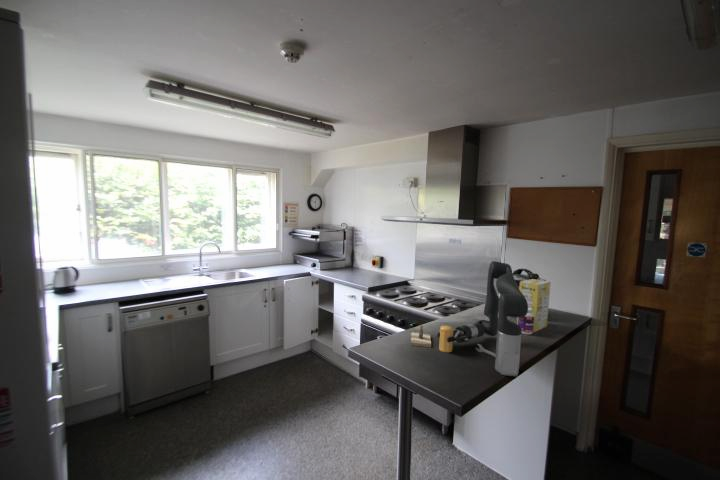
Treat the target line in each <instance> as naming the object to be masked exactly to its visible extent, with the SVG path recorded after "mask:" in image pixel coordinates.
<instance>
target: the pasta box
mask: <svg viewBox="0 0 720 480" xmlns="http://www.w3.org/2000/svg"><path fill="white" fill-rule="evenodd" d="M519 290H520V291H521V293H522V294H523V295H524V297H525V298H526V300H527V304H528V308H531V309H532V313H533V314H534V326H533V333H537V332H538V331H540V330H542V329H544V328H547V327H548V317H549V316H548V315H549V305H550V293H551V292H550V291H551V281H547V280H546V281H542V280H536V279H530V280H525V281H521V282H520V286H519ZM516 324H518V317H516Z"/></svg>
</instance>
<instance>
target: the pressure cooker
mask: <svg viewBox="0 0 720 480" xmlns="http://www.w3.org/2000/svg"><path fill="white" fill-rule="evenodd" d="M522 272H525V273H526V274H522ZM512 273H513V277H514V279H515V281H516V283H517V285H518V288H519V286H520V282H521V281H525V280H530V279H536V280H542V281H547V280H546V279H544V278H541V277H540V275H539V274H538V273H534V272H533V271H532V270H530V269H527V268H518V269H515V270H514V271H512Z"/></svg>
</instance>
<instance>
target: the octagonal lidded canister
mask: <svg viewBox="0 0 720 480" xmlns="http://www.w3.org/2000/svg"><path fill="white" fill-rule="evenodd" d="M453 329H454V327H452V326H449V325H440V328H439V332H440V337H439V343H438V349H439V351H440V352H443V353H451V352H453V343H454V341H453V342H447V338H448V337H452V336H453Z"/></svg>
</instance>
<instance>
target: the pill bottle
mask: <svg viewBox="0 0 720 480" xmlns="http://www.w3.org/2000/svg"><path fill="white" fill-rule="evenodd" d="M518 325H519V326H520V327H521V328H522V333H521V335H522V334H523V335H527V336H528V335H532V334H533V333H534V332H533V326H534V314H533V313H532V309H531V308H528V312H527V314H526V316H524V317H518Z"/></svg>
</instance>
